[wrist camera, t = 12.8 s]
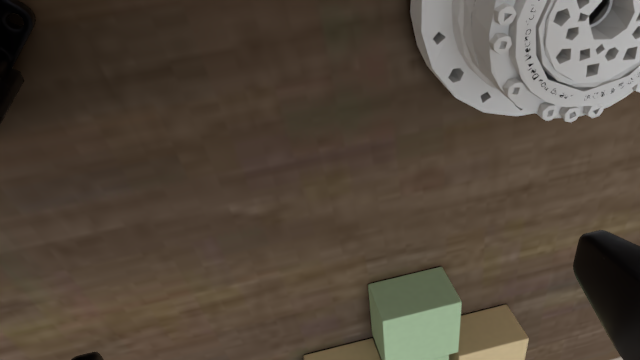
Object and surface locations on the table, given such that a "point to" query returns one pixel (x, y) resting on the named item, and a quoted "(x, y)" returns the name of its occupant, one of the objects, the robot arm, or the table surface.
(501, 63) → the mechanical component
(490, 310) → the dock pad
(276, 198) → the table surface
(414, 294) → the pad
